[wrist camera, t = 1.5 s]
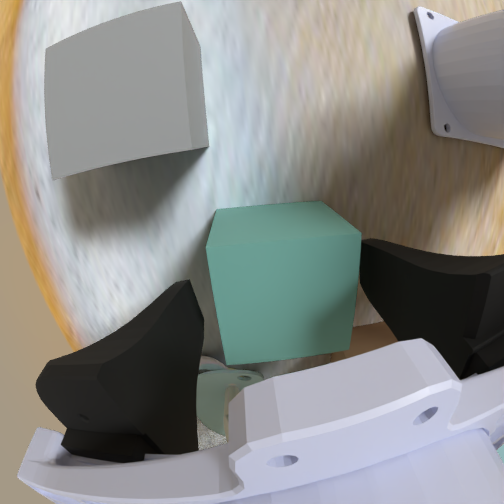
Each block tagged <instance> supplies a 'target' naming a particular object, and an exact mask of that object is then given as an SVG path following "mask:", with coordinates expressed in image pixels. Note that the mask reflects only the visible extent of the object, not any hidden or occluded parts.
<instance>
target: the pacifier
mask: <svg viewBox="0 0 504 504" xmlns="http://www.w3.org/2000/svg"><path fill="white" fill-rule="evenodd" d="M202 369H206V370H211V371H209V372H205V373H201V374H199V375H198V379H197V397H196V411H197V416H198V418H199V419H200V420H201V422H202V423H203V424H204V425H205V426H206V427H208V428H209V429H210V430H212V431H214V432H216V433H218V434H221V435H224V436H226V439H227V442H228V443H229V426H228V424H229V402H230V401H231V400H232V399H233V398H234V397H235V396H236V395H237V394H238V393H239V392H240V391H241V390H242V389H243V388H245V387H247V386H250V385H252V384H255V383H258V382H261V381H263V380H264V377H263V375H262V374H260V373H259V372H255V371H249V370H236V369H233V368H227V366H225V365H224V364H223V363H221V362H220V361H218V360H216V359H214V358H211V357H207V356H201V360H200V366H199V370H202ZM243 376H249V377H243Z"/></svg>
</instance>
